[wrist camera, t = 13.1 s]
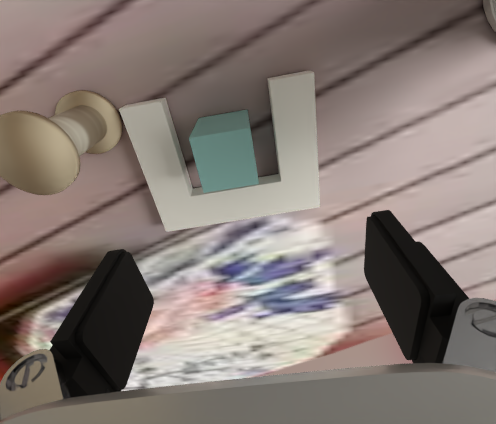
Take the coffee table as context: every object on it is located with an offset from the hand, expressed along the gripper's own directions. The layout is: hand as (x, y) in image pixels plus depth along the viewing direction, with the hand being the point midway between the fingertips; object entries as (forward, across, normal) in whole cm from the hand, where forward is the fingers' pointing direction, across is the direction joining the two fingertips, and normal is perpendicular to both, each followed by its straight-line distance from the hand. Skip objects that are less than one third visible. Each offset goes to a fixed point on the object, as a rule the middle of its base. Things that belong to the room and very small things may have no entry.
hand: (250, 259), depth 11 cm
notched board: (+21, +2, +3) cm, 21 cm away
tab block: (+21, +2, +1) cm, 21 cm away
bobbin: (+21, +15, -3) cm, 26 cm away
